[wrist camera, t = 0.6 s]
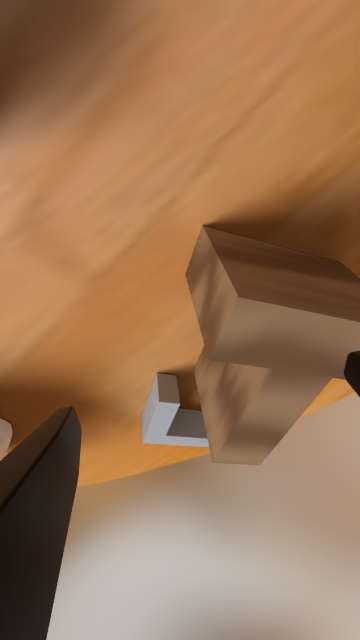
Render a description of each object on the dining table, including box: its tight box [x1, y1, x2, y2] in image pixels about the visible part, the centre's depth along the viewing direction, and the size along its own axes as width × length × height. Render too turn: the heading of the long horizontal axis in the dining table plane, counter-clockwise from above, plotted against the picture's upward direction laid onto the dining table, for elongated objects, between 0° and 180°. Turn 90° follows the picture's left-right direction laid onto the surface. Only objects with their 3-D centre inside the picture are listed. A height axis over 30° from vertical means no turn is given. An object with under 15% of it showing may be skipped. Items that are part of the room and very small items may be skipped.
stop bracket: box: [142, 373, 209, 447], centre depth 31 cm, size 6×11×4 cm, turn 73°
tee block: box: [186, 225, 360, 465], centre depth 23 cm, size 14×12×10 cm
